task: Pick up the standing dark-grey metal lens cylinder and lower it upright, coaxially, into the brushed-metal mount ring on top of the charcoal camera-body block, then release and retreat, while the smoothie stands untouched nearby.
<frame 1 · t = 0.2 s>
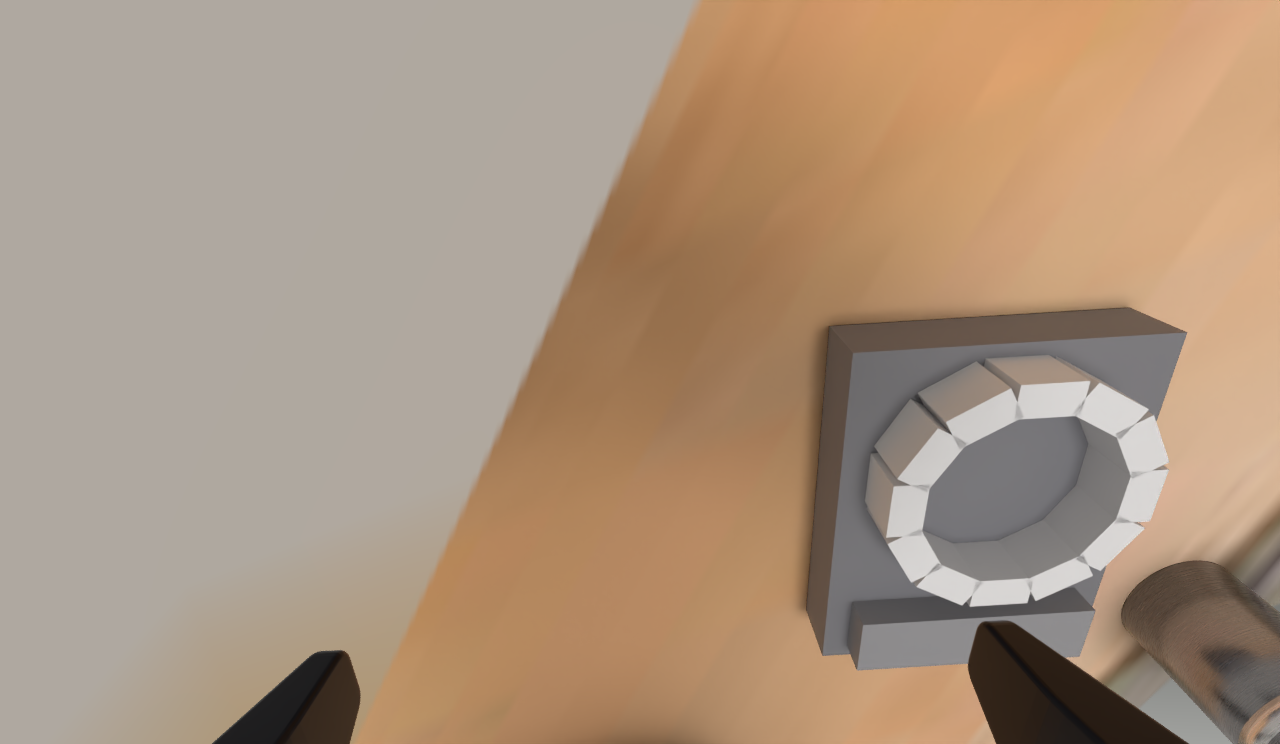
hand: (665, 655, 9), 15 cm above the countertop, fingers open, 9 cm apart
camera body: (949, 476, 25), on the countertop
lens: (1176, 602, 29), on the countertop
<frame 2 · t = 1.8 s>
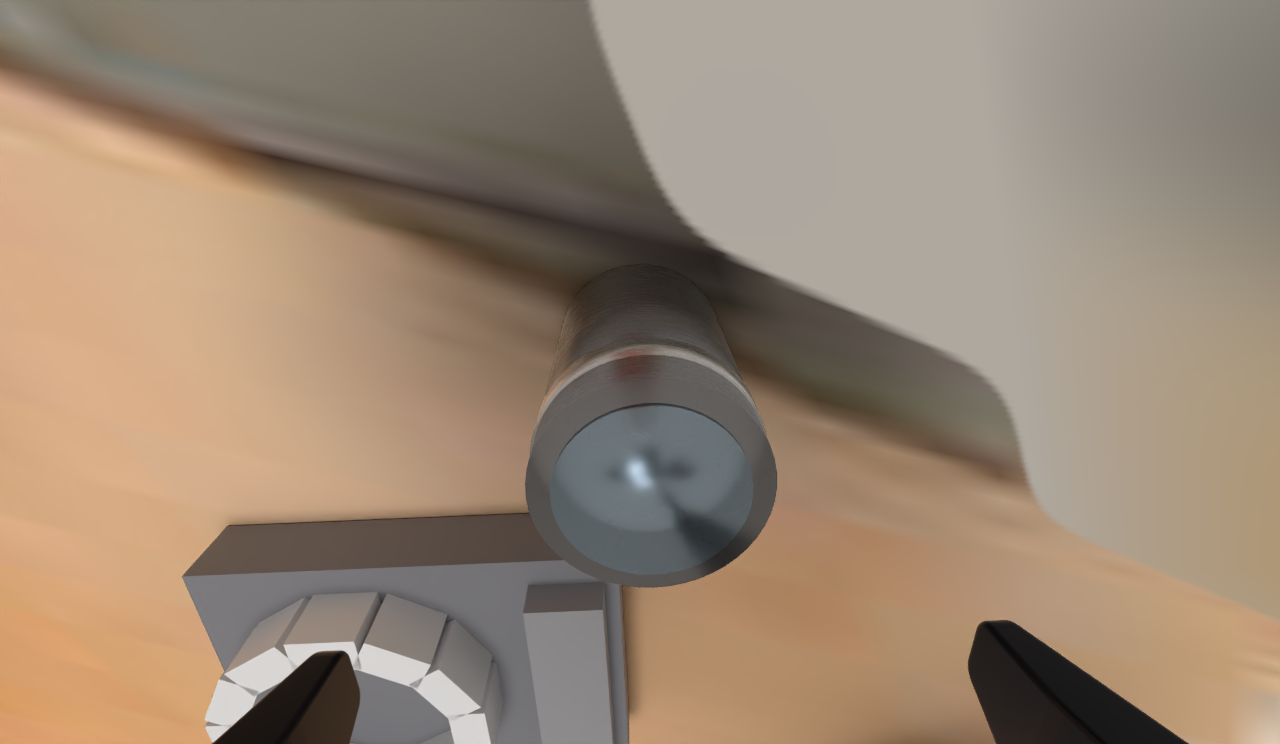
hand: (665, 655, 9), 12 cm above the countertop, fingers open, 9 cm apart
camera body: (448, 629, 24), on the countertop
lens: (640, 341, 19), on the countertop
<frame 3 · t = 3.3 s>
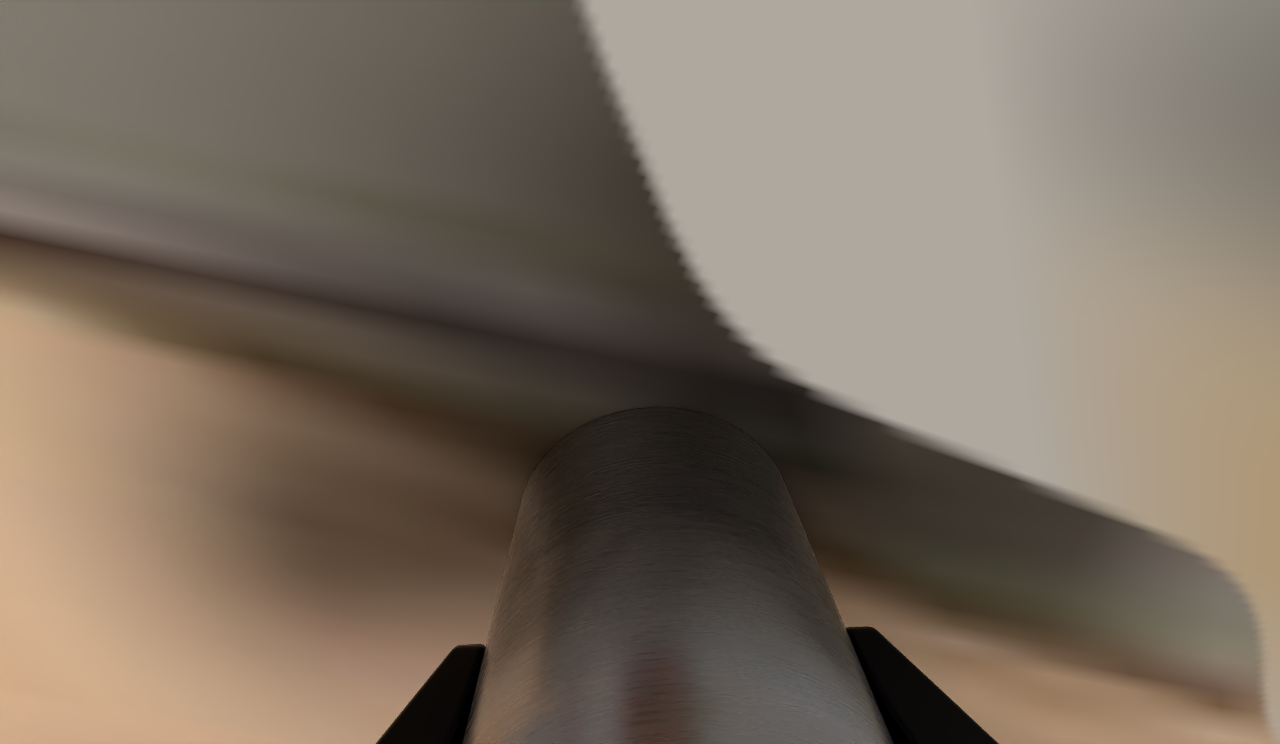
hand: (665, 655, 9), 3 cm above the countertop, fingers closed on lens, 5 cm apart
lens: (655, 526, 11), on the countertop, touching gripper
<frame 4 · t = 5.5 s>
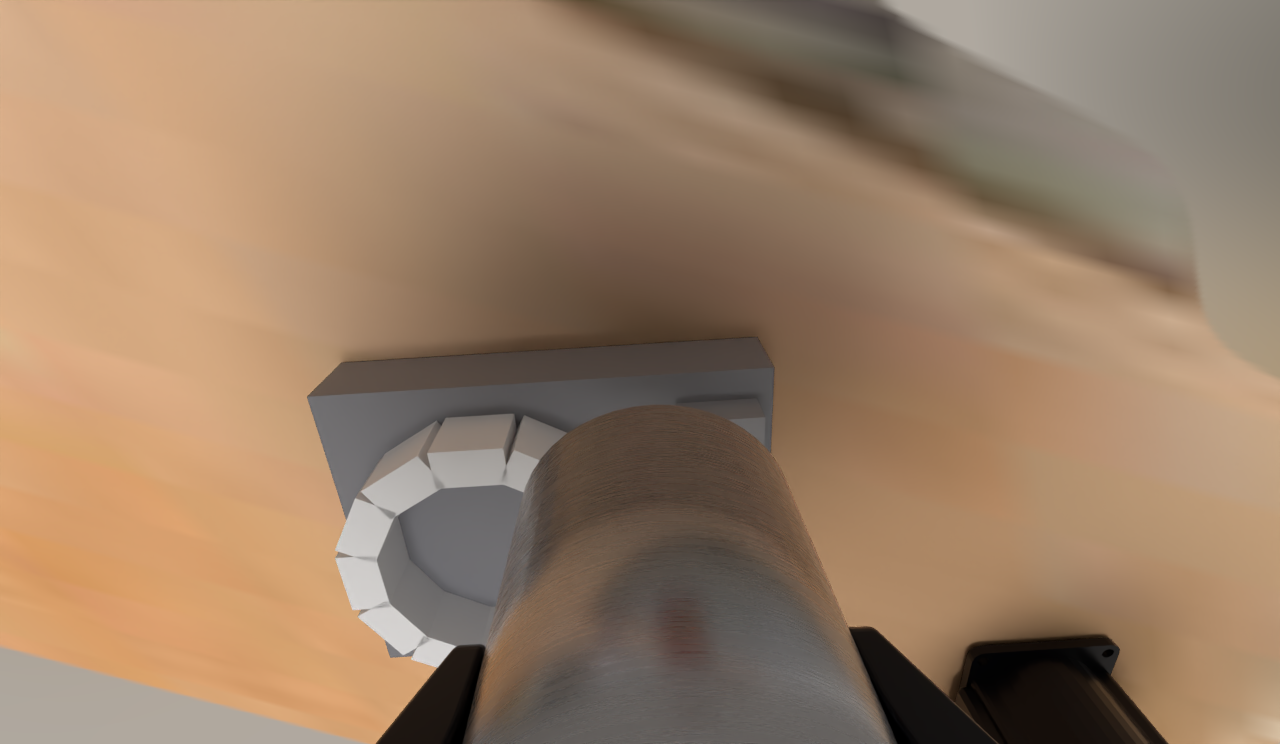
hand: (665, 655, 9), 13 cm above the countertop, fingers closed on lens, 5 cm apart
camera body: (566, 485, 23), on the countertop
lens: (656, 524, 11), point 10 cm above the countertop, touching gripper
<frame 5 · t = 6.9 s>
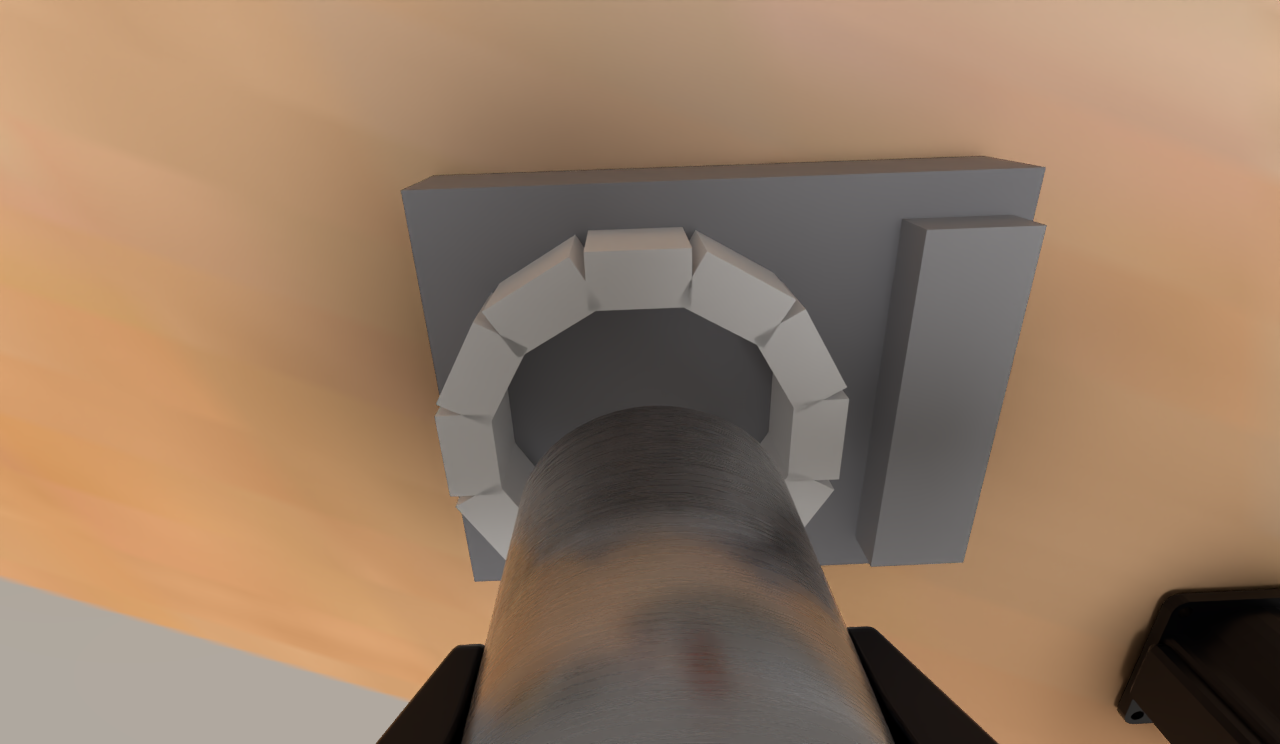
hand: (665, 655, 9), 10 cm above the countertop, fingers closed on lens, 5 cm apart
camera body: (706, 363, 18), on the countertop
lens: (655, 525, 11), point 7 cm above the countertop, touching gripper
when the fingers open (6 cm above the countertop, at t = 8.1 s): lens stays where it is, resting on camera body.
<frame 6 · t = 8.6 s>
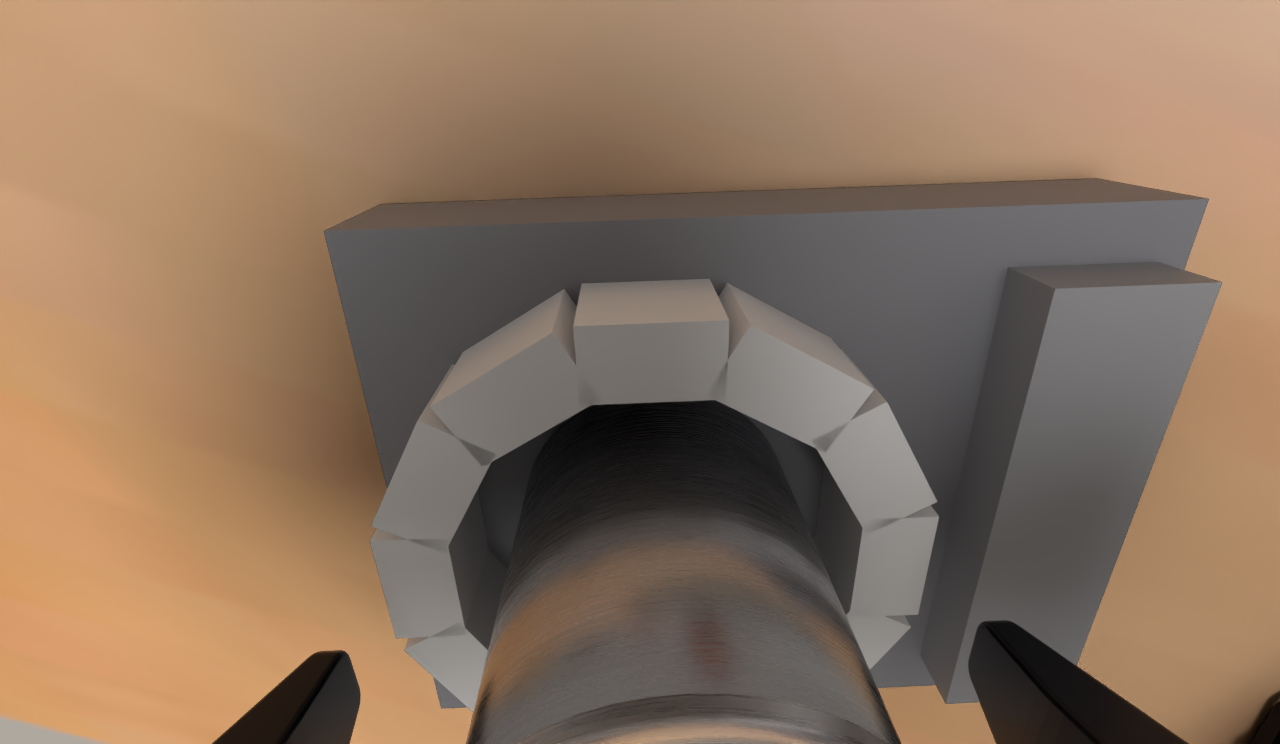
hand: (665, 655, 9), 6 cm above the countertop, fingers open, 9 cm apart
camera body: (732, 435, 14), on the countertop
lens: (656, 504, 12), point 3 cm above the countertop, touching camera body
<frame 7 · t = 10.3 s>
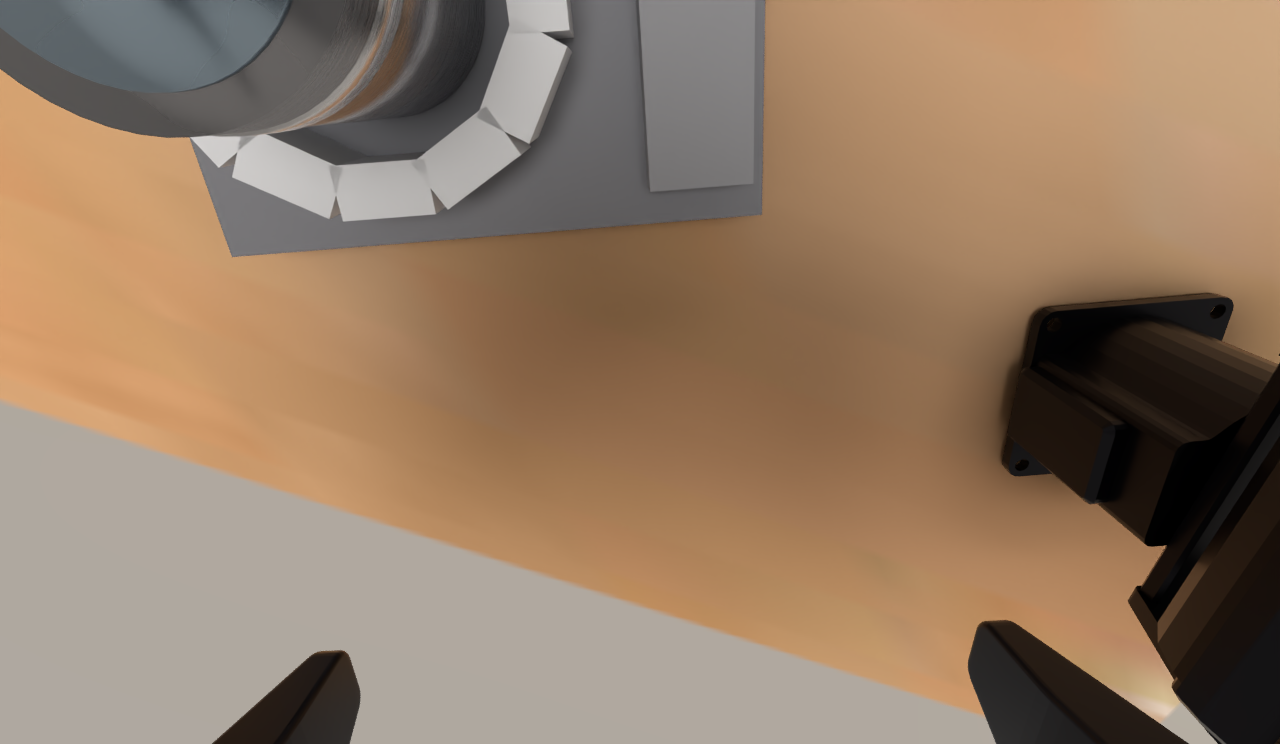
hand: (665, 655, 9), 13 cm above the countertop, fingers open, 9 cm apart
camera body: (479, 6, 16), on the countertop
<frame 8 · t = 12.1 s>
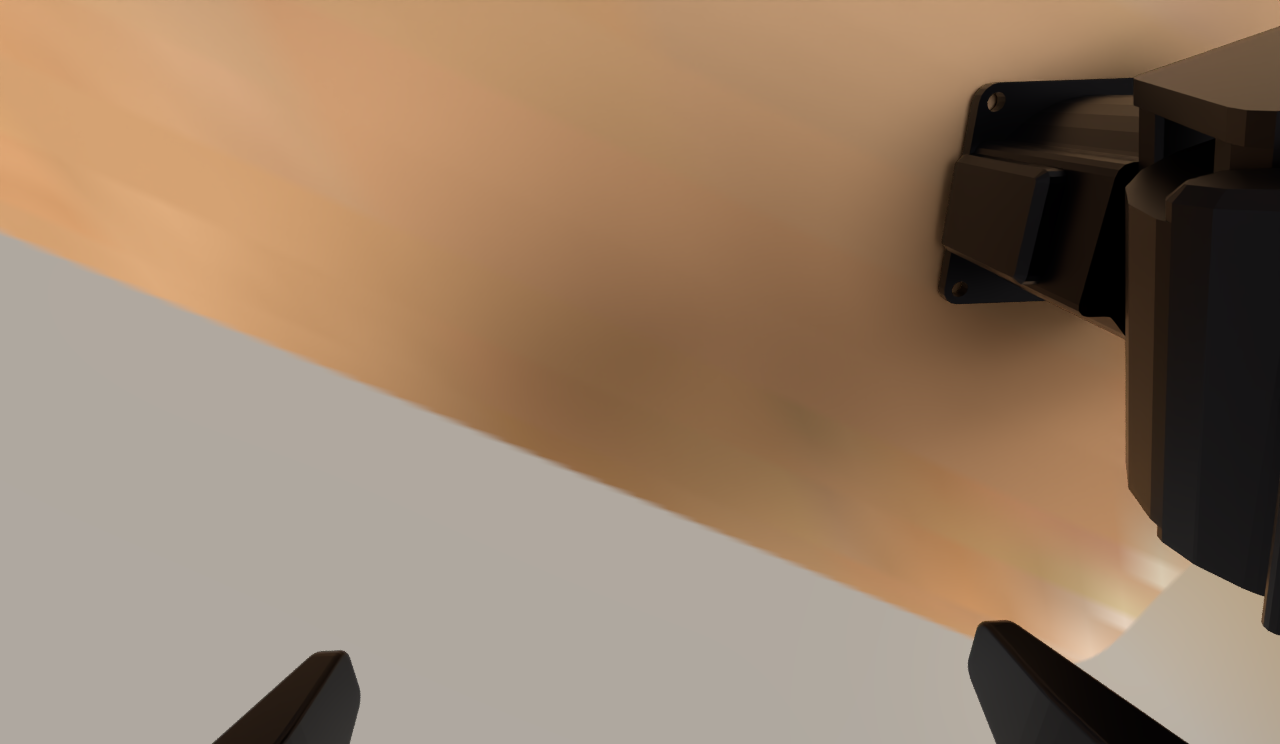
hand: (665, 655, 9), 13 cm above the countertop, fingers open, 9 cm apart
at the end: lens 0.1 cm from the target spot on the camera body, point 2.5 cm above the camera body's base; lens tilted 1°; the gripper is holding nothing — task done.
